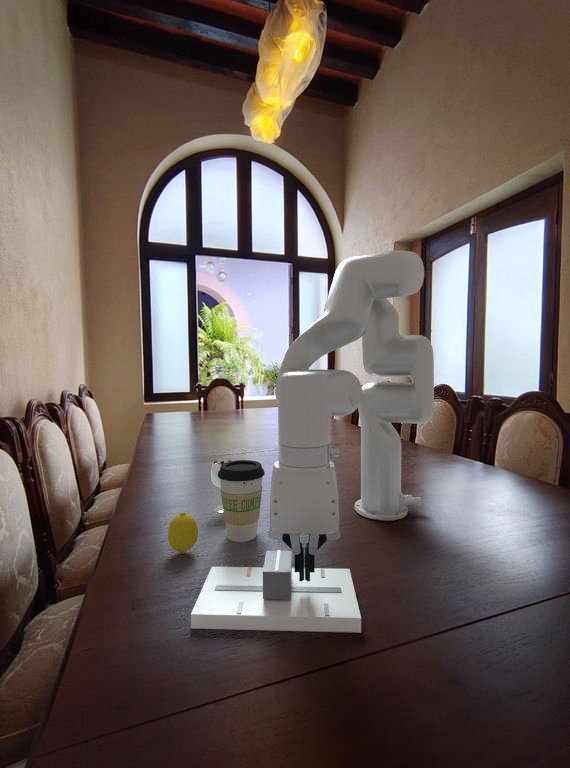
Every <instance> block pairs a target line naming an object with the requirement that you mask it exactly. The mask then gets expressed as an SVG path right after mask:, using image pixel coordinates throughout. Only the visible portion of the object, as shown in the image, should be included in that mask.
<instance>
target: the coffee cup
mask: <svg viewBox="0 0 570 768" xmlns="http://www.w3.org/2000/svg"><path fill="white" fill-rule="evenodd" d="M264 476H265V470H264V468H263V466H262V463H261V462H259V461H256V460H250V459H238V460H231V461H230V462H226V463H223V464H222V465H221V467H220V470H219V471H218V477H219V478H220V483H221V488H220V496H221V505H222V504H223V512H224V513H223V518H224V522H225V530H226V537H227V539H228V540H230V541H231V542H235V543H236V542H237V543H246V542H249V541H252V540H254V539H255V538H256V537H257V534H258V525H259V520H260V513H261V512H260V511H261V503H262V495H263V486H262V485H263V484H262V483H263V477H264Z"/></svg>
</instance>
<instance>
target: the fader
mask: <svg viewBox="0 0 570 768" xmlns="http://www.w3.org/2000/svg"><path fill="white" fill-rule="evenodd" d="M292 560H293V552H292V550H281V549H277V550H266V553H265V557H264V563H263V566H262V567H263V599H291V585H292V568H293V561H292Z"/></svg>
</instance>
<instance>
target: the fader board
mask: <svg viewBox="0 0 570 768" xmlns="http://www.w3.org/2000/svg"><path fill="white" fill-rule="evenodd" d="M263 567H264V566H262V567H261V566H260V567H259V566H258V567H257V566H256V567H255V566H253V567H252V566H211V568H210V570H209V572H208V574H207V576H206V579H205V582H204V584H203V586H202V588H201V590H200V593H199V595H198V598H197V599H196V602H195V604H194V606H193V608H192V611H191V613H190V628H191V629H193V630H195V629H203V630H204V629H205V630H237V631H238V630H242V631H243V630H244V631H246V630H247V631H249V630H250V631H276V632H277V631H282V632H287V631H289V632H319V633H320V632H322V633H323V632H324V633H326V632H327V633H329V632H330V633H362V616H361V611H360V608H359V603H358V600H357V599H358V598H357V596H356V590H355V587H354V582H353V579H352V573H351V570H350V568H330V567H329V568H325V567H324V568H321V567H319V568H318V567H317V568H315V572H310V581H307V580H305V567H304V580H303V581H299V572H295V567H292V585H291V599H263Z"/></svg>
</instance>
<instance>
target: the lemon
mask: <svg viewBox="0 0 570 768" xmlns="http://www.w3.org/2000/svg"><path fill="white" fill-rule="evenodd" d="M198 535H199V529H198V523H197V521H196V519H195V517H194V516H193V515H191V514H189V513H186V512H185V511H183V512H182V511H181V512H180V513H178V514H177V515H175V516H174V517H173V518H172V520H171V521H170V522H169V526H168V530H167V539H168V544H169V546H170V548H171V549H173V550H174V551H175V552H178V553H180V554H182V555H184V554H186V553H187V552H188V551H190V550H192V548H193V547H194V546H195V545H196V543H197V541H198V537H199V536H198Z"/></svg>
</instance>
